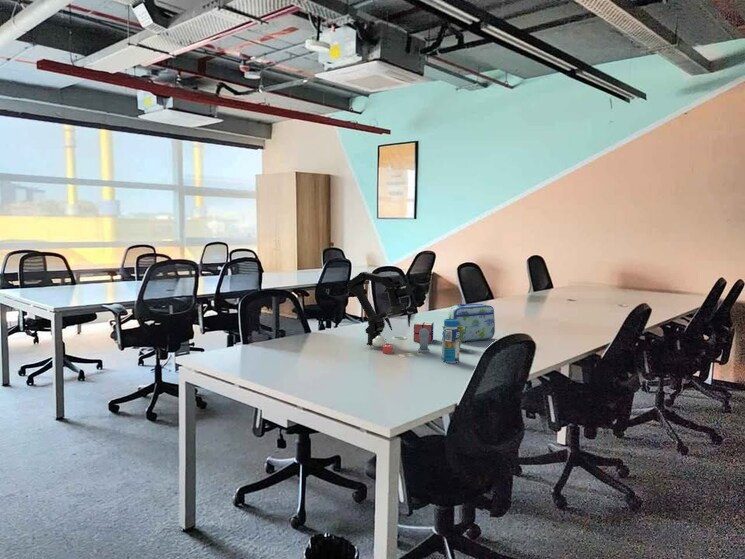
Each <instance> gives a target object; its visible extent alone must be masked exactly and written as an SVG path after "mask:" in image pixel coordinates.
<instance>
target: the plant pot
mask: <svg viewBox="0 0 745 559" xmlns="http://www.w3.org/2000/svg"><path fill="white" fill-rule="evenodd" d="M441 328H442V329H443V330H444V329H445V327H444V325H443V326H442V327H441ZM457 329H458V330H459V333H460V336H459V338H460V346H459V350H460V349H461V345H462V342H461V340H462V335H463V331H464V329H465V327H462V326H458V327H457ZM443 330H442V331H443Z"/></svg>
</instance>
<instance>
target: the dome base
mask: <svg viewBox="0 0 745 559" xmlns="http://www.w3.org/2000/svg"><path fill="white" fill-rule="evenodd" d="M372 350H376V351H383V347H375V346H373V345H370V351H372Z"/></svg>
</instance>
